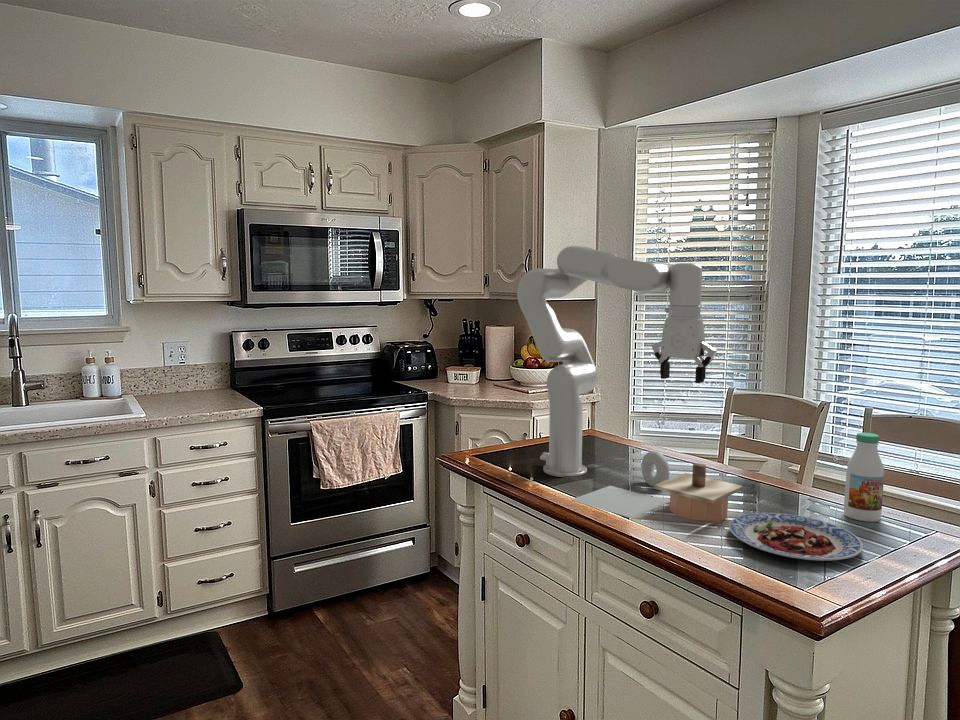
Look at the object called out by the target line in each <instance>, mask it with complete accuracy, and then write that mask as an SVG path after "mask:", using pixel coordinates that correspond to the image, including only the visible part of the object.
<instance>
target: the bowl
mask: <svg viewBox="0 0 960 720" xmlns="http://www.w3.org/2000/svg"><path fill="white" fill-rule="evenodd" d="M669 501H670V502H669V511H670V512H671V513H673V514H675V515H676V516H678V517H682V518H684V519H689V520H696V521H705V522H707V523H708V524H710V523H711V524H712V523H720V522H723V521H724V520H726V519H728V505H729V496H728V497H726V498H724V499H721V500H719V501H717V502H715V503H709V502H705V501H701V500H697V499H693V498H689V497H686V496H682V495H678V494H674V493H670V492H669ZM708 521H709V522H708Z"/></svg>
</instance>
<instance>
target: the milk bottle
mask: <svg viewBox="0 0 960 720" xmlns="http://www.w3.org/2000/svg"><path fill="white" fill-rule="evenodd" d="M855 442H856V448H855V450H854V452H853V454H852V455H851V457H850V459H849V460H848V463H847V467H846V474H845V484H844V485H845V486H844V498H843V499H844V501H843V514H844V516H845V517H847V518H849V519H852V520H856V521H861V522H867V523H871V522H872V523H875V522H879V521H880V520H881V518H882V511H883V510H882V508H883V498H884V497H883V496H884V481H885V469H884V464H883V461H882V459H881V457H880V454H879V450H878V446H879V443H880V436H879V435H878V434H876V433H873V432H872V433H871V432H858V433H857V434H856V441H855Z"/></svg>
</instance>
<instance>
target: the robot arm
mask: <svg viewBox="0 0 960 720" xmlns="http://www.w3.org/2000/svg"><path fill="white" fill-rule="evenodd" d="M556 265H557V268H535V269H531V270H529V271H527V272H526V273H525V274H524V275H522V277H521V279H520V281H519V284H518V285H517V292H516V293H517V295H516V296H517V301H518V305H519V307H520V310H521V312H522V314H523V315H524V318H525V320H526V322H527V326H528V328H529V330H530V332H531V335H532V337H533V341H534V343H535V346H536V348H537V351H538V353H539V354H540V357H541V358H542V359H543V360H544V361H545V362H548V363H559V362H562V363H561V364H559V365H556V366H554V367H553V368H552V369H551V370H550V371H549V373H548V375H547V378H546V388H547V394H548V401H549V403H548V404H549V407H548V408H549V415H548V417H549V429H548V430H549V431H548V433H549V434H548V435H549V436H548V437H549V438H548V452H546V451H543V452H542V453H541V455H540V456H539V460H541V461H544V462H545V465H543V472H544V473H545V474H547V475H548V476H554V477H559V478H561V477H562V478H566V477H577V476H582V475H584V474H586V473H587V472H588V468H587V466H585V465H583V464H582V463H583V459H582V458H583V423H584V422H583V420H584V418H583V405H582V402H581V398H580V395H584V394H586V393H590V392H592V391H593V390H594V389H595V388H596V386H597V385H598V379H599V375H598V370H597V368H596V364H595V362H594V360H593V357H592V355H591V353H590V351H589V348H588V345H587V343H586V340H585V339H584V337H583V336H582V334H580V332H578V331H577V330H575V329H573V328H569V327H568V328H567V327H565V328H564V327H562V326H561V324H560V322H559V320H558V318H557V317H558V316H557V314H556V313H555V311H554V309H553V307H552V306H551V305H550V304H549V303H548V302H547V300H546V299H549V298H550V299H551V298H552V299H553V298H563V297H565V296H567V295H569V294H570V293H572V292H573V291H575V290H576V289H577V288H579V287H580V286H582V285H583V284H585V282H587V281H592V282H594V283H600V284H605V285H607V286H614V287H617V288H620V289H625V290H630V291H635V292H640V293H647V294H649V293H668V292H669V305H668V307H666V308H665V309H664V312H665V314H668V317H666V318H665V321H664V324H663V328H662V333H661V340H660V341H659V342H655V343H654V344H652V345H651V348H652V351H653V353H654V356H655V358H656V359H657V360H658V363H659V364H660V369H659V370H660V371H659V375H660V379H661V380H664V379H669V378H670V371H671V368H670V367H671V364H670V362H669V361H670V359H672V358H673V359H674V358H675V359H683V360H694V362H695V363H696V365H697V366H696V367H695V381H694V382H695V383H696V384H701V383H704V381H705V380H706V369H707V368H706V367H708V366H709V364H710V363H711V362H712V361H713V360H714V358H715V356H716V354H717V349H715V348H714V347H712V346H711V345H709V344H708V343H706V338H705V337H706V336H705V326H704V320H703V318H701V312H702V310H701V309H702V307H701V306H702V287H703V285H702V283H703V268H702V266H701V264H699V263H693V262H691V263H690V262H687V263H685V262H683V263H682V262H681V263H678V262H677V263H674V264H672V263H665V262H648V261H640V260H634V259H629V258H624V257H620V256H617V254H616V253H615V252H611V251H605V250H598V249H594V248H592V247H590V246H589V247H587V246H577V245H576V246H575V245H570V246H566V247H564V248H562V249H561V250H560V251H559V253H558V254H557V258H556ZM705 352H707V356H706V357H704V356H705V354H706V353H705Z"/></svg>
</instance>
